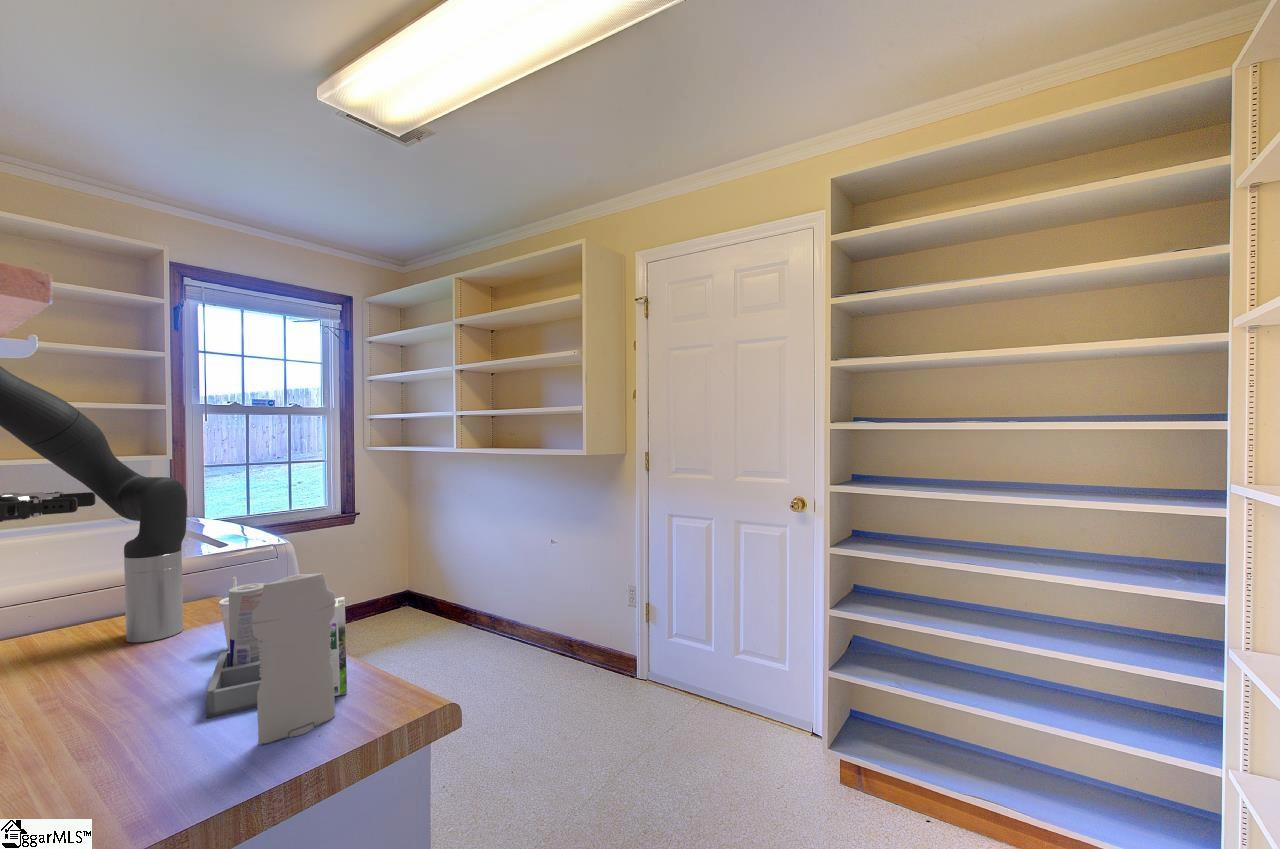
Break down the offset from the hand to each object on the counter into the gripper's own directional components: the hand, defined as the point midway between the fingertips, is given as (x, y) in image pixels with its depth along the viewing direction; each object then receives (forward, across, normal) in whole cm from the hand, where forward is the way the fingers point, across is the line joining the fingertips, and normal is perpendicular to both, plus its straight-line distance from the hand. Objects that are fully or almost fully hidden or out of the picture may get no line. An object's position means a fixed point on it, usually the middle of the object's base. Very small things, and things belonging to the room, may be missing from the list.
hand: (86, 501), depth 90 cm
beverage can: (+21, -2, +32) cm, 38 cm away
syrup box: (+32, -16, +32) cm, 48 cm away
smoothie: (+18, +15, +32) cm, 40 cm away
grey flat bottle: (+28, -27, +32) cm, 51 cm away
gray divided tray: (+21, -6, +32) cm, 39 cm away
